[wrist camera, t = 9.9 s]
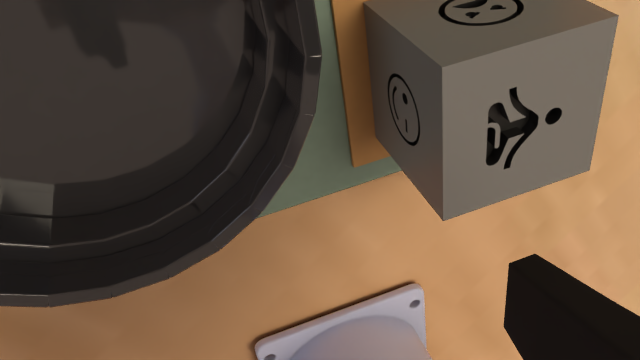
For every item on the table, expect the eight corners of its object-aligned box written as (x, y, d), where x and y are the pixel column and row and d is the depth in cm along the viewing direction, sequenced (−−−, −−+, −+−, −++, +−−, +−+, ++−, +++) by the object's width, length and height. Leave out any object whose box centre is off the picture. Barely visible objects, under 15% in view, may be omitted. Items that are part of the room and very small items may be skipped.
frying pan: (316, 166, 21) (347, 219, 19) (-71, 290, 19) (-93, 368, 16) (231, -307, 13) (266, -324, 11) (-469, -193, 11) (-631, -181, 8)
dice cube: (363, 1, 18) (442, 67, 14) (507, -37, 19) (618, 15, 15) (375, 137, 21) (443, 221, 17) (498, 98, 22) (589, 170, 18)
